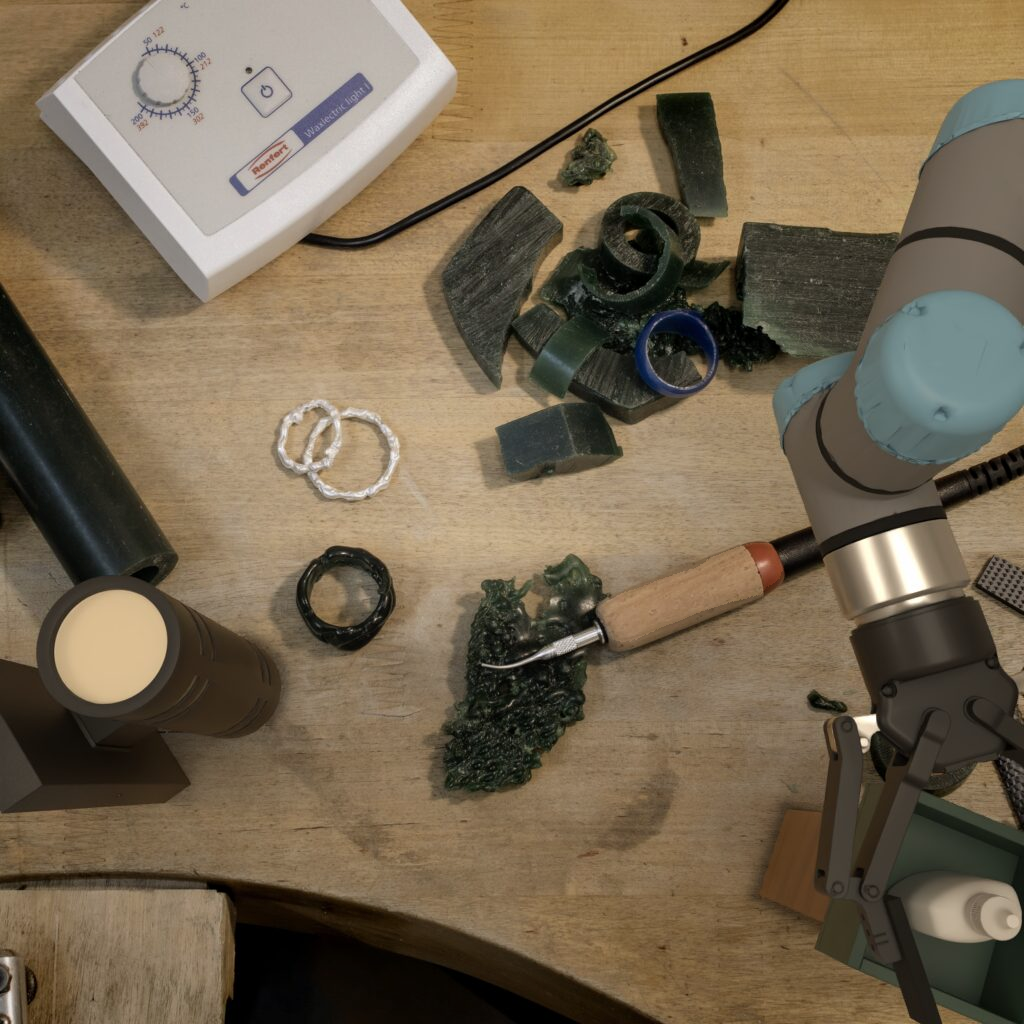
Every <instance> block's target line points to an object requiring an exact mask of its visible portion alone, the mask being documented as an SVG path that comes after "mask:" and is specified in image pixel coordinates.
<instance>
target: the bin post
mask: <svg viewBox="0 0 1024 1024" xmlns="http://www.w3.org/2000/svg"><path fill="white" fill-rule="evenodd" d="M822 812H823V811H822ZM822 812H821V811H811V810H801V809H799V810H798V809H788V808H787V809H786V811H785V813H784V817H783V820H782V823H781V826H780V829H779V831H778V832H779V833H778V835H777V838H776V842H775V843H774V848H773V850H772V854H771V855H770V859H769V863H768V865H767V867H766V871H765V875H764V877H763V881H762V883H761V887H760V889H759V892H758V896H761V897H763V898H764V899H767V900H770V901H772V902H775V903H776V904H779V905H782V906H783V907H786V908H788V909H791V910H793V911H795V912H798V913H800V914H803V915H805V916H807V917H809V918H812V919H814V920H816V921H819V922H821V923H823V920H824V916H825V913H826V910H827V907H828V904H829V900H830V897H827V896H825V895H822V894H820V893H818V892H817V891H816V890H815V887H814V874H815V866H816V858H817V851H818V843H819V835H820V828H821V820H822Z"/></svg>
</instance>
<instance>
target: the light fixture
mask: <svg viewBox="0 0 1024 1024" xmlns="http://www.w3.org/2000/svg"><path fill="white" fill-rule="evenodd" d="M35 658H36V666H37V667H36V666H32V665H28V664H24V663H20V662H17V661H16V662H15V661H12V660H9V659H8V660H7V659H4V658H0V813H1V814H2V815H4V814H5V815H6V814H20V813H21V814H22V813H35V812H49V811H65V810H80V809H83V810H84V809H95V808H96V809H97V808H113V807H127V806H129V807H130V806H141V805H142V806H143V805H156V804H157V805H159V804H166V803H167V802H168V801H170V800H171V799H172V798H174V797H175V796H177V795H178V794H180V793H182V792H183V791H185V789H187V788H188V787H190V786H191V785H192V783H191V781H190V779H189V778H188V776H187V775H186V772H185V771H184V769H183V768H182V767H181V765H180V763H179V761H178V760H177V759H176V757H175V755H174V753H173V752H172V750H171V749H170V747H169V745H168V744H167V742H166V740H165V739H164V738H163V736H162V734H161V733H160V731H159V729H163V730H164V729H165V730H169V731H175V732H181V733H187V734H194V735H199V736H200V735H201V736H206V737H212V738H217V739H226V740H228V739H229V740H231V739H239V738H244V737H246V736H249V735H251V734H253V733H255V732H256V731H258V730H260V729H261V728H262V727H263V726H264V725H265V724H266V723H267V722H268V721H269V720H270V719H271V717H272V716H273V715H274V714H275V711H276V709H277V707H278V706H279V702H280V698H281V693H282V680H281V674H280V671H279V668H278V666H277V664H276V662H275V661H274V660H273V658H272V657H271V656H270V654H269V653H268V652H267V651H265V650H264V649H263V648H262V647H260V646H258V645H256V644H255V643H253V642H251V641H250V640H248V639H246V638H244V637H243V636H241V635H239V634H237V633H235V632H234V631H232V630H231V629H229V628H227V627H225V626H224V625H222V624H221V623H218V622H217V621H215V620H213V619H212V618H209V617H208V616H206V615H205V614H203V613H201V612H199V611H198V610H196V609H194V608H192V607H191V606H189V605H187V604H185V603H184V602H182V601H180V600H179V599H177V598H175V597H173V596H171V595H170V594H168V593H167V592H165V591H162V589H159V588H157V587H156V586H155V585H153V584H151V583H149V582H147V581H145V580H143V579H141V578H139V577H134V576H131V575H125V574H106V575H101V576H100V575H98V576H95V577H92V578H89V579H87V580H84V581H82V582H79V583H78V584H76V585H74V586H73V587H71V588H70V589H68V590H67V591H66V592H65V593H63V594H62V595H61V596H60V597H59V598H58V599H57V600H56V601H55V602H54V604H53V605H52V606H51V607H50V609H49V610H48V612H47V614H46V615H45V617H44V619H43V621H42V624H41V626H40V628H39V632H38V634H37V639H36V647H35Z"/></svg>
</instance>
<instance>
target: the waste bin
mask: <svg viewBox="0 0 1024 1024" xmlns="http://www.w3.org/2000/svg"><path fill="white" fill-rule="evenodd" d="M884 785H885V782H866V784H865V786H864V789H863V792H862V795H861V798H860V801H859V807H858V816H857V824H856V832H855V840H854V849H853V857H852V865H851V873H852V870H853V867H854V865H855V862H856V859H857V857H858V854H859V851H860V849H861V846H862V843H863V841H864V838H865V835H866V833H867V830H868V827H869V825H870V822H871V819H872V817H873V814H874V811H875V809H876V806H877V803H878V801H879V798H880V795H881V793H882V790H883V787H884ZM926 871H950V872H956V873H961V874H966V875H971V876H976V877H981V878H986V879H991V880H996V881H1000V882H1003V883H1006V884H1008V885H1010V886H1011V887H1013V889H1014V890H1015V892H1016V894H1017V897H1018V900H1019V903H1020V907H1021V911H1022V918H1021V919H1022V921H1021V922H1022V923H1021V924H1022V925H1021V927H1020V929H1019V931H1018V933H1017V935H1016V936H1014V937H1013V938H1011V939H1009V940H1006V941H1005V940H1004V941H1003V940H1002V941H1001V940H996V939H991V940H988V941H983V942H977V943H959V942H952V941H947V940H943V939H939V938H936V937H932V936H929V935H926V934H923V933H921V932H918V931H915V930H912V929H911V931H912V934H913V937H914V940H915V943H916V946H917V949H918V952H919V955H920V958H921V961H922V964H923V967H924V970H925V972H926V975H927V978H928V981H929V984H930V987H931V990H932V993H933V996H934V999H935V1002H936V1005H938V1006H939V1007H942V1008H945V1009H946V1010H949V1011H951V1012H954V1013H956V1014H958V1015H961V1016H964V1017H965V1018H968V1019H969V1020H973V1021H975V1022H977V1023H979V1024H1024V831H1021V830H1018V829H1017V828H1014V827H1012V826H1009V825H1007V824H1004V823H1002V822H1000V821H997V820H995V819H993V818H990V817H987V816H986V815H984V814H980V813H978V812H975V811H973V810H971V809H969V808H966V807H963V806H961V805H959V804H956V803H954V802H951V801H949V800H946V799H944V798H942V797H939V796H937V795H934V794H931V793H929V792H927V791H925V790H922V791H921V794H920V797H919V799H918V802H917V805H916V807H915V810H914V813H913V816H912V818H911V821H910V824H909V827H908V829H907V832H906V835H905V838H904V840H903V843H902V846H901V848H900V851H899V854H898V857H897V859H896V862H895V865H894V868H893V870H892V873H891V876H890V878H889V881H888V884H887V887H886V889H885V892H884V893H886V894H887V892H888V891H889V889H890V888H891V887H892V886H894V885H895V884H896V883H898V882H899V881H901V880H903V879H905V878H907V877H909V876H911V875H914V874H917V873H921V872H926ZM851 873H850V875H851ZM814 950H816V951H818V952H820V953H822V954H823V955H826V956H827V957H829V958H832V959H833V960H835V961H837V962H839V963H841V964H843V965H845V966H847V967H849V968H851V969H854V970H856V971H858V972H860V973H863V974H865V975H868V976H870V977H872V978H874V979H877V980H878V981H882V982H884V983H886V984H889V985H891V986H893V987H896V988H898V989H900V986H899V983H898V980H897V977H896V974H895V971H894V967H893V964H892V963H891V964H888V965H885V964H883V963H881V962H879V961H877V960H876V959H875V957H874V956H873V955H872V953H871V952H870V949H869V946H868V943H867V940H866V936H865V933H864V930H863V927H862V924H861V921H860V918H859V915H858V912H857V909H856V906H855V905H854V903H853V902H852V901H851V900H844V899H833V898H830V900H829V904H828V907H827V910H826V913H825V916H824V920H823V922H821V926H820V929H819V933H818V936H817V939H816V941H815V945H814Z"/></svg>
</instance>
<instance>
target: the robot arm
mask: <svg viewBox="0 0 1024 1024" xmlns="http://www.w3.org/2000/svg"><path fill="white" fill-rule="evenodd" d="M917 180H918V182H917V185H916V188H915V191H914V194H913V197H912V200H911V202H910V205H909V208H908V211H907V214H906V216H905V220H904V222H903V225H902V228H901V231H900V234H899V237H898V240H897V243H896V246H895V248H894V250H893V253H892V255H891V258H890V259H889V262H888V263H887V267H886V269H885V272H884V275H883V278H882V279H881V283H880V286H879V288H878V291H877V293H876V296H875V299H874V301H873V304H872V307H871V309H870V312H869V315H868V318H867V320H866V323H865V326H864V328H863V332H862V334H861V337H860V340H859V342H858V345H857V347H856V350H852V351H846V352H841V353H838V354H834V355H831V356H828V357H825V358H822V359H819V360H817V361H814V362H812V363H810V364H808V365H806V366H803V367H802V368H800V369H798V370H797V371H796V372H795V374H794V375H791V376H789V377H786V378H785V379H783V380H782V382H781V383H779V385H778V386H777V387H776V388H775V391H774V392H773V395H772V399H771V406H772V412H773V415H774V419H775V423H776V427H777V430H778V434H779V439H778V440H779V445H780V448H781V450H782V452H783V454H784V456H785V457H786V458H787V461H788V464H789V467H790V469H791V473H792V476H793V479H794V482H795V484H796V487H797V490H798V492H799V495H800V499H801V501H802V504H803V506H804V509H805V513H806V516H807V518H808V521H809V524H810V526H811V527H810V528H811V530H812V533H813V535H814V538H815V541H816V544H817V546H818V550H819V552H820V555H821V558H822V561H823V564H824V567H825V570H826V574H827V577H828V579H829V583H830V585H831V588H832V590H833V593H834V597H835V599H836V602H837V605H838V607H839V611H840V614H841V617H842V618H843V619H844V620H846V621H854V623H855V626H856V628H853V629H852V630H851V631H850V635H849V637H848V639H849V642H850V644H851V647H852V651H853V653H854V657H855V659H856V663H857V665H858V668H859V671H860V674H861V677H862V679H863V683H864V685H865V688H866V690H867V693H868V695H869V698H870V712H869V714H864V715H858V716H850V715H845V714H844V715H839V716H834V717H830V718H827V719H826V720H824V723H823V725H822V732H823V736H824V741H825V745H826V750H827V755H828V767H827V768H828V769H827V775H826V783H825V790H824V797H823V805H822V820H821V828H820V835H819V843H818V851H817V858H816V866H815V874H814V887H815V890H816V891H817V892H818V893H820V894H822V895H825V896H827V897H830V898H833V899H844V900H851V901H852V902H853V903H854V905H855V906H856V909H857V912H858V915H859V918H860V921H861V924H862V927H863V930H864V933H865V936H866V940H867V943H868V946H869V949H870V952H871V953H872V955H873V956H874V957H875V959H876V960H877V961H879V962H881V963H883V964H885V965H888V964H891V963H892V964H893V967H894V971H895V974H896V977H897V980H898V983H899V986H900V988H899V989H900V992H901V994H902V999H903V1001H904V1004H905V1007H906V1010H907V1013H908V1016H909V1019H911V1020H912V1021H915V1022H916V1023H918V1024H943V1020H942V1018H941V1015H940V1012H939V1008H938V1006H937V1004H936V1002H935V999H934V996H933V993H932V990H931V987H930V984H929V981H928V978H927V975H926V972H925V970H924V967H923V964H922V961H921V958H920V955H919V952H918V949H917V946H916V943H915V940H914V937H913V934H912V931H911V928H910V925H909V922H908V919H907V916H906V913H905V910H904V907H903V904H902V901H901V898H900V897H896V896H893V895H889V894H886V893H884V892H885V889H886V887H887V884H888V881H889V878H890V876H891V873H892V870H893V868H894V865H895V862H896V859H897V857H898V854H899V851H900V848H901V846H902V843H903V840H904V838H905V835H906V832H907V829H908V827H909V824H910V821H911V818H912V816H913V813H914V810H915V807H916V805H917V802H918V799H919V797H920V794H921V791H924V789H925V788H926V786H927V785H928V784H929V781H930V779H931V776H932V774H936V775H937V774H938V775H939V774H949V773H953V772H957V771H961V770H962V769H963V768H965V767H967V766H968V765H970V764H981V763H989V762H993V761H996V760H999V756H1002V757H1003V758H1005V759H1009V760H1011V761H1013V762H1015V763H1016V764H1018V765H1019V766H1021V767H1022V768H1024V724H1023V723H1022V722H1021V721H1019V720H1017V719H1016V718H1014V716H1015V713H1016V709H1017V705H1018V701H1019V697H1020V696H1021V697H1022V698H1024V666H1023V667H1022V669H1020V671H1018V672H1015V673H1013V674H1008V672H1006V671H1005V669H1004V668H1003V667H1002V665H1001V663H1000V660H999V655H998V648H997V646H996V643H995V640H994V637H993V635H992V632H991V629H990V627H989V625H988V622H987V619H986V616H985V614H984V611H983V608H982V606H981V604H980V600H979V599H975V598H974V596H972V595H968V596H966V594H965V591H964V589H965V588H967V587H968V586H969V585H970V583H971V581H972V579H971V577H970V573H969V571H968V567H966V562H965V561H964V558H963V556H962V553H961V549H960V547H959V545H958V543H957V539H956V537H955V534H954V532H953V529H952V527H951V524H950V522H949V518H948V516H947V512H946V510H945V509H944V506H943V503H942V500H941V497H940V495H939V492H938V490H937V489H938V488H937V486H936V483H935V480H934V477H936V476H937V475H938V474H940V473H942V472H943V471H944V470H946V469H947V468H949V467H950V466H952V465H955V463H957V462H959V461H960V460H963V459H965V458H968V457H970V456H971V455H972V454H974V453H977V452H978V451H980V450H981V449H982V447H984V446H986V445H987V444H989V443H991V442H992V440H993V438H994V436H995V435H996V434H998V433H1000V432H1002V431H1003V429H1004V428H1005V427H1006V425H1007V424H1008V423H1009V422H1010V421H1012V419H1014V418H1015V417H1016V416H1017V415H1018V414H1019V412H1020V411H1021V410H1022V408H1023V407H1024V78H1009V79H1001V80H1000V79H999V80H995V81H991V82H987V83H985V84H981V85H979V86H977V87H975V88H973V89H971V90H970V91H968V92H967V93H965V94H964V95H963V96H961V97H960V98H959V99H957V101H955V103H954V104H953V105H952V107H951V108H950V109H949V110H948V112H947V114H946V115H945V117H944V119H943V120H942V122H941V125H940V127H939V129H938V132H937V134H936V137H935V138H934V142H933V143H932V146H931V147H930V150H929V153H928V156H927V158H926V159H925V160H924V161H923V162H921V165H920V168H919V171H918V176H917ZM874 734H875V735H876V736H877V737H879V738H880V739H881V740H882V741H884V742H885V743H886V744H888V745H889V746H890V747H891V748H892V749H894V750H893V752H892V755H891V757H890V761H889V764H888V766H887V769H886V771H885V774H884V775H885V776H884V779H885V781H884V783H885V785H884V787H883V790H882V793H881V795H880V798H879V801H878V803H877V806H876V809H875V811H874V814H873V817H872V819H871V822H870V825H869V827H868V830H867V833H866V835H865V838H864V841H863V843H862V846H861V849H860V851H859V854H858V857H857V859H856V862H855V865H854V867H853V870H852V873H851V865H852V857H853V849H854V840H855V832H856V824H857V816H858V808H859V805H860V800H861V792H862V791H861V789H862V782H863V774H864V754H865V753H866V752H867V753H868V751H869V750H870V748H871V739H872V736H873V735H874ZM850 873H851V875H850Z"/></svg>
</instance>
